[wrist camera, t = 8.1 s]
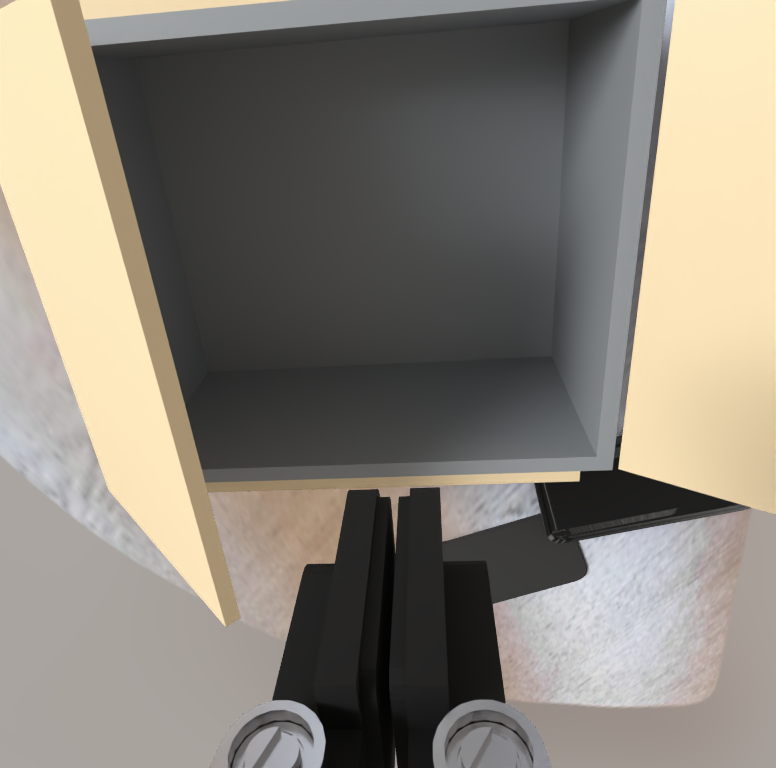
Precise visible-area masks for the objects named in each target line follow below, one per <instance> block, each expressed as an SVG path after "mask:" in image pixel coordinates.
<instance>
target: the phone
mask: <svg viewBox="0 0 776 768" xmlns="http://www.w3.org/2000/svg"><path fill="white" fill-rule="evenodd" d="M442 550H443V561H486V563H487V568H488V575H489V582H490V590H491V597H492V604H493V603H497V602H501V601H504V600H508V599H512V598H515V597H519V596H523V595H526V594H530V593H534V592H537V591H541V590H545V589H548V588H552V587H556V586H559V585H563V584H567V583H570V582H574V581H577V580H579V579H581V578H583V577H584V576H585V574H586V572H587V567H586V563H585V561H584V558H583V555H582V553H581V550H580V547H579V545H578V542H577V541H573V542H568V543H555V542H553V541H551V540H550V539H549V538H548V537H547V535H546V531H545V527H544V523H543V519H542V514H537V515H534V516H530V517H527V518H524V519H520V520H517V521H513V522H510V523H507V524H503V525H500V526H496V527H493V528H490V529H486V530H483V531H479V532H476V533H473V534H469V535H466V536H462V537H459V538H456V539H452V540H449V541H444V542H442Z"/></svg>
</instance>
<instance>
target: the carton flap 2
mask: <svg viewBox="0 0 776 768" xmlns="http://www.w3.org/2000/svg"><path fill="white" fill-rule="evenodd" d="M618 469H620V470H624V471H627V472H630V473H634V474H637V475H641V476H644V477H648V478H651V479H655V480H658V481H662V482H665V483H668V484H672V485H675V486H679V487H682V488H686V489H689V490H693V491H696V492H700V493H703V494H706V495H710V496H713V497H717V498H720V499H724V500H727V501H731V502H734V503H738V504H741V505H745V506H748V507H751V508H755V509H758V510H762V511H765V512H769V513H772V514H776V0H675V7H674V15H673V24H672V32H671V40H670V48H669V56H668V65H667V73H666V81H665V89H664V98H663V106H662V114H661V122H660V130H659V139H658V147H657V155H656V163H655V172H654V180H653V188H652V196H651V205H650V213H649V221H648V229H647V237H646V246H645V254H644V262H643V270H642V279H641V287H640V295H639V303H638V311H637V320H636V328H635V336H634V344H633V353H632V361H631V369H630V377H629V386H628V394H627V402H626V410H625V418H624V427H623V435H622V443H621V451H620V460H619V468H618Z"/></svg>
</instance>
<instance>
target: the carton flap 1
mask: <svg viewBox="0 0 776 768" xmlns="http://www.w3.org/2000/svg"><path fill="white" fill-rule="evenodd" d="M0 184H1V187H2V190H3V193H4V195H5V198H6V201H7V204H8V207H9V210H10V212H11V215H12V218H13V221H14V224H15V227H16V229H17V232H18V235H19V238H20V241H21V244H22V246H23V249H24V252H25V255H26V258H27V260H28V263H29V266H30V269H31V272H32V275H33V277H34V280H35V283H36V286H37V289H38V292H39V294H40V297H41V300H42V303H43V306H44V309H45V311H46V314H47V317H48V320H49V323H50V325H51V328H52V331H53V334H54V337H55V340H56V342H57V345H58V348H59V351H60V354H61V357H62V359H63V362H64V365H65V368H66V371H67V374H68V376H69V379H70V382H71V385H72V388H73V390H74V393H75V396H76V399H77V402H78V405H79V407H80V410H81V413H82V416H83V419H84V422H85V424H86V427H87V430H88V433H89V436H90V438H91V441H92V444H93V447H94V450H95V453H96V455H97V458H98V461H99V464H100V467H101V470H102V472H103V475H104V478H105V481H106V484H107V487H108V489H109V491H110V492H111V493H112V494H113V496H114V497H115V498H116V499H117V500H118V501H119V503H120V504H121V505H122V506H123V507H124V508H125V510H126V511H127V512H128V513H129V514H130V515H131V517H132V518H133V519H134V520H135V521H136V522H137V524H138V525H139V526H140V527H141V528H142V530H143V531H144V532H145V533H146V534H147V535H148V537H149V538H150V539H151V540H152V541H153V542H154V544H155V545H156V546H157V547H158V548H159V549H160V551H161V552H162V553H163V554H164V555H165V556H166V558H167V559H168V560H169V561H170V562H171V564H172V565H173V566H174V567H175V568H176V569H177V571H178V572H179V573H180V574H181V575H182V576H183V578H184V579H185V580H186V581H187V582H188V583H189V585H190V586H191V587H192V588H193V589H194V590H195V592H196V593H197V594H198V595H199V596H200V598H201V599H202V600H203V601H204V602H205V603H206V605H207V606H208V607H209V608H210V609H211V610H212V611H213V613H214V614H215V615H216V616H217V617H218V618H219V620H220V621H221V622H222V623H223V624H224V626H225V627H227V626H229V625H231V624H232V623H233V622H235V621H237V620H238V619H240V614H239V610H238V606H237V602H236V598H235V595H234V591H233V587H232V583H231V579H230V575H229V572H228V568H227V564H226V560H225V556H224V553H223V549H222V545H221V541H220V537H219V533H218V530H217V526H216V522H215V518H214V514H213V510H212V507H211V503H210V499H209V495H208V491H207V488H206V484H205V480H204V476H203V472H202V468H201V465H200V461H199V457H198V453H197V449H196V446H195V442H194V438H193V434H192V430H191V426H190V423H189V419H188V415H187V411H186V407H185V403H184V400H183V396H182V392H181V388H180V384H179V381H178V377H177V373H176V369H175V365H174V361H173V358H172V354H171V350H170V346H169V342H168V338H167V335H166V331H165V327H164V323H163V319H162V316H161V312H160V308H159V304H158V300H157V296H156V293H155V289H154V285H153V281H152V277H151V274H150V270H149V266H148V262H147V258H146V254H145V251H144V247H143V243H142V239H141V235H140V231H139V228H138V224H137V220H136V216H135V212H134V209H133V205H132V201H131V197H130V193H129V189H128V186H127V182H126V178H125V174H124V170H123V166H122V163H121V159H120V155H119V151H118V147H117V144H116V140H115V136H114V132H113V128H112V124H111V121H110V117H109V113H108V109H107V105H106V102H105V98H104V94H103V90H102V86H101V82H100V79H99V75H98V71H97V67H96V63H95V59H94V56H93V52H92V48H91V44H90V40H89V37H88V33H87V29H86V25H85V21H84V17H83V14H82V10H81V6H80V2H79V0H16V1H14V2H12V3H11V4H9V5H7V6H5V7H3V8H1V9H0Z"/></svg>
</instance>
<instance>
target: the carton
mask: <svg viewBox="0 0 776 768" xmlns="http://www.w3.org/2000/svg"><path fill="white" fill-rule="evenodd" d="M79 2H80V6H81V10H82V14H83V17H84V21H85V25H86V29H87V33H88V37H89V40H90V44H91V48H92V52H93V56H94V59H95V63H96V67H97V71H98V75H99V79H100V82H101V86H102V90H103V94H104V98H105V102H106V105H107V109H108V113H109V117H110V121H111V124H112V128H113V132H114V136H115V140H116V144H117V147H118V151H119V155H120V159H121V163H122V166H123V170H124V174H125V178H126V182H127V186H128V189H129V193H130V197H131V201H132V205H133V209H134V212H135V216H136V220H137V224H138V228H139V231H140V235H141V239H142V243H143V247H144V251H145V254H146V258H147V262H148V266H149V270H150V274H151V277H152V281H153V285H154V289H155V293H156V296H157V300H158V304H159V308H160V312H161V316H162V319H163V323H164V327H165V331H166V335H167V338H168V342H169V346H170V350H171V354H172V358H173V361H174V365H175V369H176V373H177V377H178V381H179V384H180V388H181V392H182V396H183V400H184V403H185V407H186V411H187V415H188V419H189V423H190V426H191V430H192V434H193V438H194V442H195V446H196V449H197V453H198V457H199V461H200V465H201V468H202V472H203V476H204V480H205V484H206V488H207V491H208V492H235V491H269V490H303V489H336V488H370V487H404V486H438V485H472V484H506V483H539V482H573V481H579V480H580V471H600V470H612V469H613V461H614V452H615V444H616V435H617V426H618V418H619V409H620V401H621V392H622V383H623V375H624V366H625V358H626V349H627V340H628V332H629V323H630V315H631V306H632V297H633V289H634V280H635V271H636V263H637V254H638V246H639V237H640V228H641V220H642V211H643V203H644V194H645V185H646V177H647V168H648V160H649V151H650V142H651V134H652V125H653V117H654V108H655V99H656V91H657V82H658V74H659V65H660V56H661V48H662V39H663V31H664V22H665V13H666V5H667V0H79Z"/></svg>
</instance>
